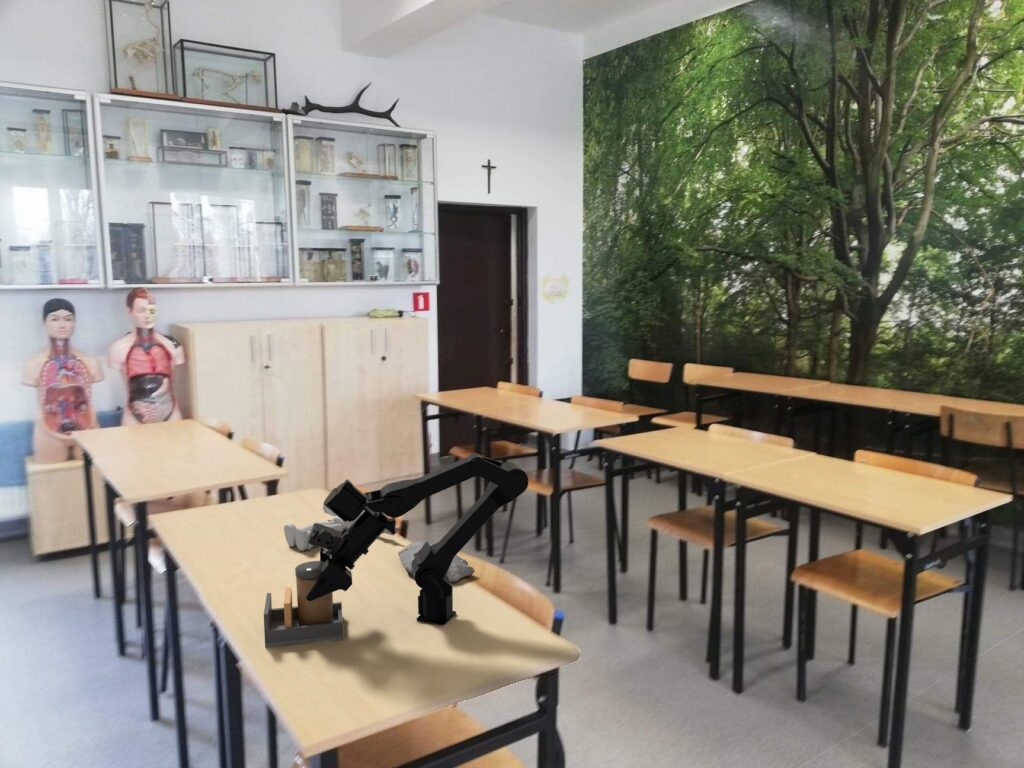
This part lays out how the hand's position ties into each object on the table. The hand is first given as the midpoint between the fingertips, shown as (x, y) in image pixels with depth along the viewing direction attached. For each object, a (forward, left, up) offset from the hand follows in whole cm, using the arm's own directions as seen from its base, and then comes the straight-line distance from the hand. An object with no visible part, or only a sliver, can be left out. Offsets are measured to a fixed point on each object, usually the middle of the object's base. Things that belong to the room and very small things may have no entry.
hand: (307, 592), depth 159 cm
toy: (+27, -53, -9) cm, 60 cm away
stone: (-7, -40, -9) cm, 42 cm away
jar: (-1, -1, -7) cm, 7 cm away
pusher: (+3, +2, -7) cm, 8 cm away
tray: (+1, 0, -8) cm, 8 cm away
